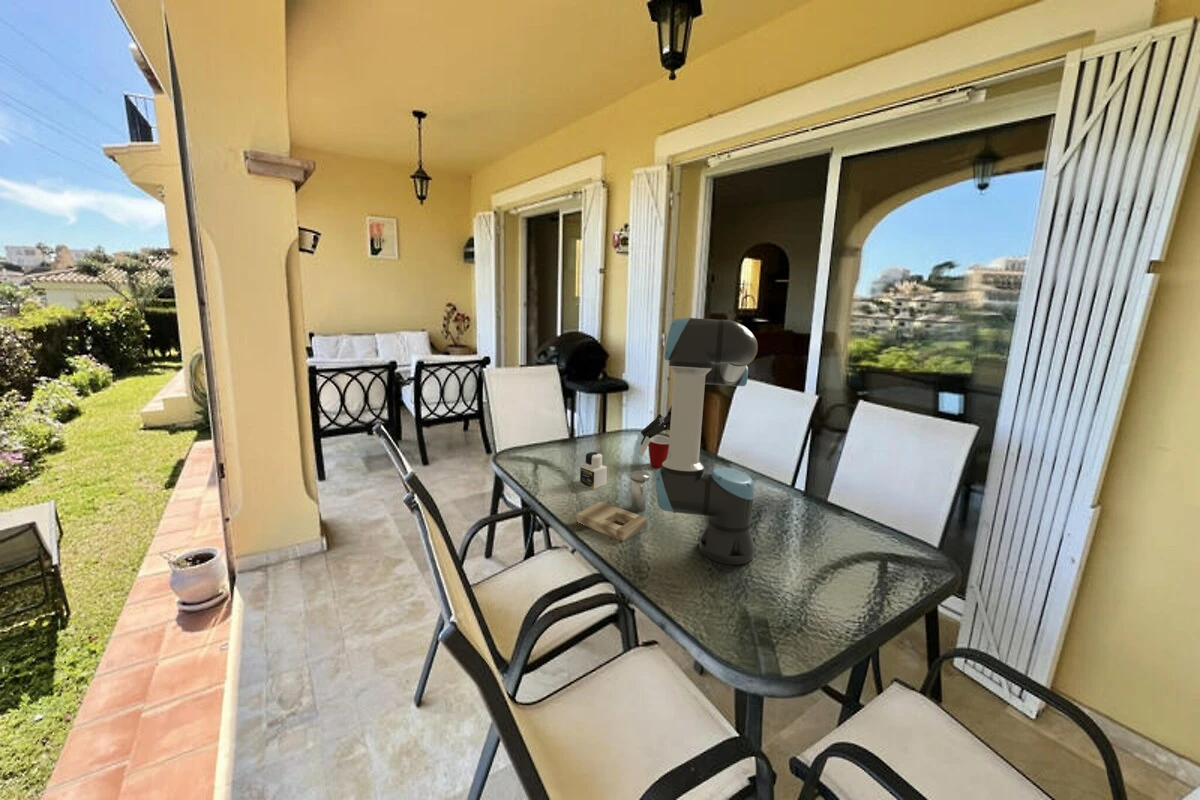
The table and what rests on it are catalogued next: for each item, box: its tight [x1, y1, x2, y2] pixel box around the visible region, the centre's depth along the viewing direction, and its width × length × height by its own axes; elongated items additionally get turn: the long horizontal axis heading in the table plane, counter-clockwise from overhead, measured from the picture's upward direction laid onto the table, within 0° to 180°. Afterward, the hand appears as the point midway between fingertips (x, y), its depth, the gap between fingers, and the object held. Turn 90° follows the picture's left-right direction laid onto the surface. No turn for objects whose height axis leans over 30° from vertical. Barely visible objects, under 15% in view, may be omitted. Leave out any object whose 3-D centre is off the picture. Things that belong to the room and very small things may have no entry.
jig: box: [576, 501, 648, 543], centre depth 154 cm, size 18×12×3 cm, turn 52°
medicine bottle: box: [579, 451, 608, 490], centre depth 184 cm, size 7×7×12 cm
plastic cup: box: [647, 434, 670, 469], centre depth 205 cm, size 11×11×12 cm
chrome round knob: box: [629, 470, 650, 513], centre depth 165 cm, size 6×6×12 cm
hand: (657, 458), depth 171 cm, fingers open, 13 cm apart
